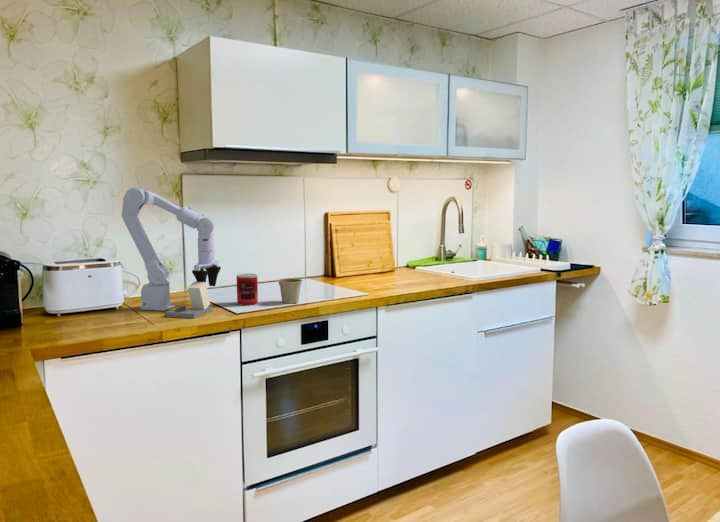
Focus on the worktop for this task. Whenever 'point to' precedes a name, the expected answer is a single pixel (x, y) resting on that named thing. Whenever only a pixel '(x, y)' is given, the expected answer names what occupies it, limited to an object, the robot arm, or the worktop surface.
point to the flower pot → (290, 290)
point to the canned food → (247, 289)
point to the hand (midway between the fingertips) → (207, 287)
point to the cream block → (199, 295)
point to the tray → (186, 312)
